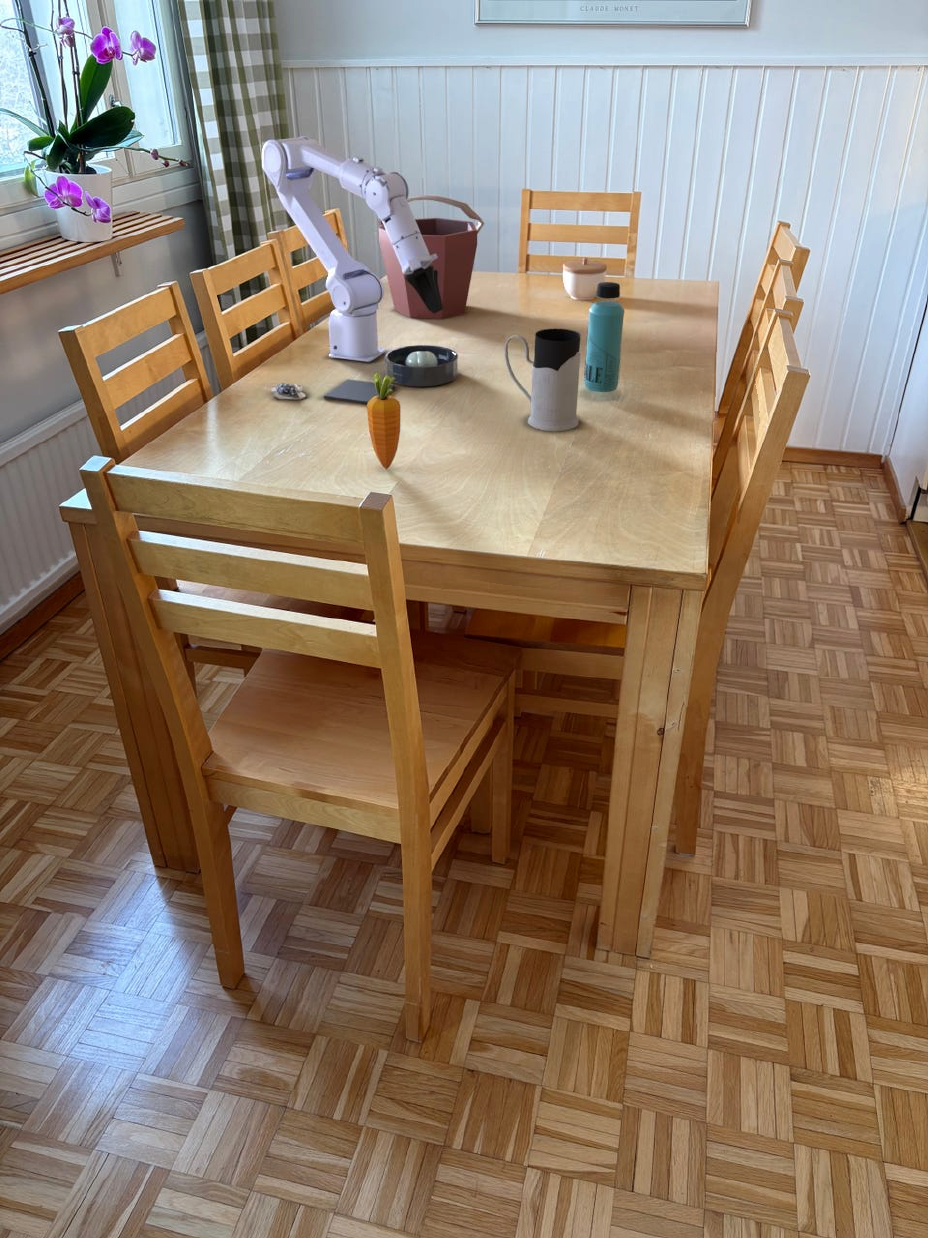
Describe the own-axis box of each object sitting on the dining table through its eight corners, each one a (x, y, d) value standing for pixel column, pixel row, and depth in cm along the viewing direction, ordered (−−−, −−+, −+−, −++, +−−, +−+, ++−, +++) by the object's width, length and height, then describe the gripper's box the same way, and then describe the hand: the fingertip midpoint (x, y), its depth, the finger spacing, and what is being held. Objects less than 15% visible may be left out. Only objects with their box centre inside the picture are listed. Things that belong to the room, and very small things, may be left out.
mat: (323, 398, 172) (323, 395, 171) (348, 381, 180) (348, 379, 179) (373, 405, 169) (373, 402, 168) (395, 387, 177) (395, 385, 176)
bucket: (498, 307, 226) (500, 194, 212) (447, 328, 210) (446, 208, 197) (414, 293, 237) (411, 185, 223) (361, 313, 221) (354, 198, 208)
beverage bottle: (620, 390, 175) (631, 280, 165) (613, 402, 170) (624, 288, 159) (586, 386, 177) (594, 277, 166) (578, 398, 172) (586, 285, 161)
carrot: (370, 462, 147) (365, 368, 139) (402, 461, 147) (398, 367, 139) (370, 475, 143) (365, 379, 135) (403, 474, 143) (399, 378, 135)
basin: (374, 383, 179) (372, 362, 177) (403, 361, 190) (402, 342, 188) (442, 391, 175) (441, 370, 173) (468, 369, 186) (468, 349, 184)
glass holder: (564, 434, 157) (569, 345, 149) (491, 418, 163) (492, 331, 155) (587, 418, 163) (593, 332, 155) (515, 403, 169) (518, 319, 161)
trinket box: (562, 291, 239) (564, 252, 234) (604, 292, 238) (607, 253, 233) (560, 301, 230) (562, 261, 225) (604, 303, 229) (607, 263, 224)
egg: (407, 378, 180) (406, 355, 177) (404, 371, 183) (404, 349, 181) (439, 376, 181) (438, 354, 178) (436, 369, 184) (435, 347, 182)
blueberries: (292, 384, 178) (291, 374, 177) (317, 394, 173) (317, 384, 172) (262, 392, 174) (261, 382, 173) (287, 403, 169) (286, 393, 168)
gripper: (422, 224, 166) (453, 298, 169) (430, 236, 180) (458, 304, 183) (386, 241, 167) (417, 314, 170) (397, 252, 181) (425, 319, 184)
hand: (436, 310), depth 177 cm, fingers open, 7 cm apart
